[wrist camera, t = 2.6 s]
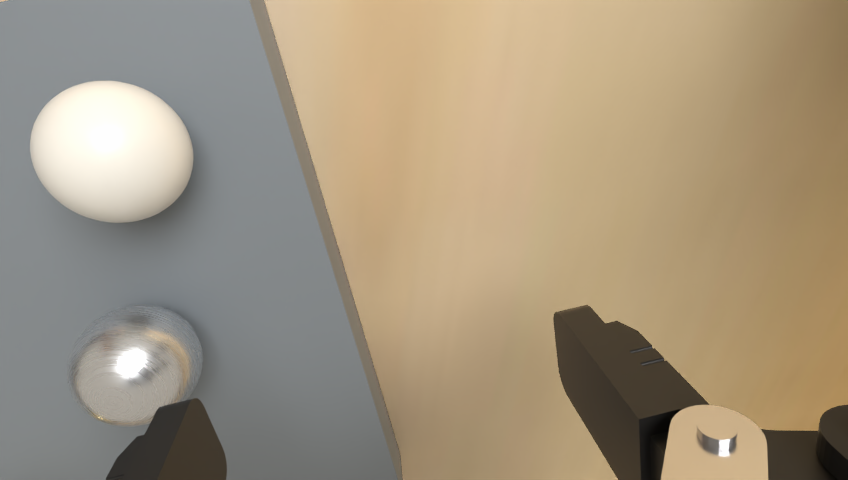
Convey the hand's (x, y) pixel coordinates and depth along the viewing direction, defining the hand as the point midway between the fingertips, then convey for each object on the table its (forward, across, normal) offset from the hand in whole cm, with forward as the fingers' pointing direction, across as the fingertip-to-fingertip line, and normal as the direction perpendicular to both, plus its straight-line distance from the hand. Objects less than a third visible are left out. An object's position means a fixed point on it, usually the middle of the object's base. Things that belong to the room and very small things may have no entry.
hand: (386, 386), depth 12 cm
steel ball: (+4, +7, 0) cm, 8 cm away
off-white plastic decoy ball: (+4, +5, -6) cm, 9 cm away
